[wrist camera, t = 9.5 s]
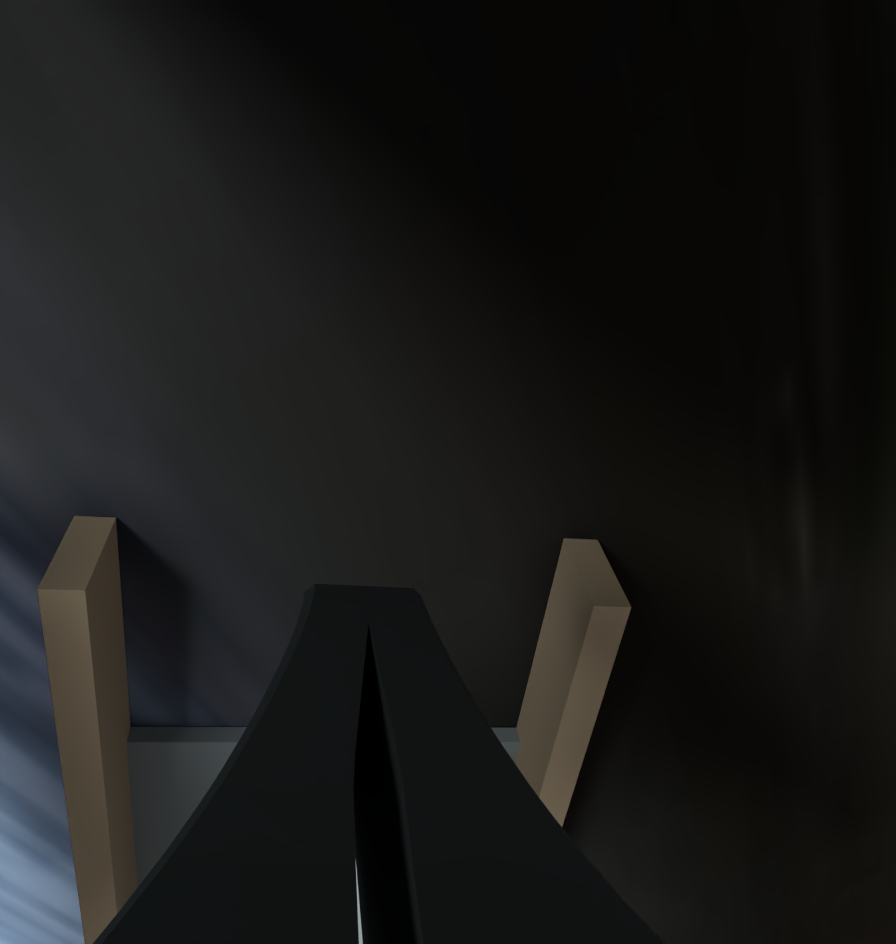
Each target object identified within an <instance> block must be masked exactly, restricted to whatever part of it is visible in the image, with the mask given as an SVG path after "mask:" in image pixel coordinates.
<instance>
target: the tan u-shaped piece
mask: <svg viewBox="0 0 896 944" xmlns="http://www.w3.org/2000/svg"><path fill="white" fill-rule="evenodd" d="M37 592H38V599H39V606H40V614H41V621H42V629H43V636H44V644H45V651H46V658H47V666H48V673H49V681H50V688H51V696H52V703H53V710H54V718H55V725H56V733H57V740H58V747H59V755H60V762H61V770H62V777H63V785H64V792H65V799H66V807H67V814H68V822H69V829H70V837H71V844H72V851H73V859H74V866H75V874H76V881H77V889H78V896H79V903H80V911H81V918H82V926H83V933H84V941H85V944H93V942H94V941H95V940H96V939H97V938H98V936H99V935H100V934H101V933H102V932H103V930H104V929H105V928H106V927H107V926H108V924H109V923H110V922H111V921H112V919H113V918H114V917H115V916H116V914H117V913H118V912H119V911H120V910H121V908H122V907H123V906H124V904H125V903H126V902H127V901H128V899H129V898H130V897H131V895H132V894H133V893H134V892H135V890H136V889H137V888H138V886H139V885H140V884H141V882H142V881H143V880H144V879H145V877H146V876H147V875H148V873H149V872H150V871H151V870H152V868H153V867H154V866H155V864H156V863H157V862H158V861H159V859H160V858H161V857H162V855H163V854H164V853H165V851H166V850H167V849H168V847H169V846H170V844H171V843H172V842H173V840H174V839H175V837H176V836H177V835H178V833H179V832H180V830H181V829H182V828H183V826H184V825H185V823H186V822H187V821H188V819H189V818H190V816H191V815H192V814H193V812H194V811H195V809H196V808H197V806H198V805H199V803H200V802H201V800H202V799H203V797H204V796H205V794H206V793H207V791H208V790H209V788H210V787H211V785H212V784H213V782H214V781H215V779H216V778H217V776H218V774H219V773H220V771H221V770H222V768H223V766H224V765H225V763H226V761H227V760H228V758H229V756H230V755H231V753H232V751H233V750H234V748H235V746H236V745H237V743H238V741H239V740H240V738H241V736H242V734H243V733H244V731H245V729H246V728H247V727H131V721H130V707H129V693H128V679H127V666H126V652H125V638H124V624H123V610H122V596H121V582H120V568H119V554H118V540H117V526H116V518H112V517H91V516H74V517H73V519H72V521H71V523H70V525H69V527H68V529H67V531H66V533H65V535H64V537H63V539H62V541H61V543H60V545H59V547H58V549H57V551H56V553H55V555H54V557H53V559H52V561H51V563H50V565H49V567H48V569H47V571H46V573H45V575H44V577H43V579H42V580H41V582H40V584H39V586H38V588H37ZM630 610H631V605H630V603H629V601H628V599H627V597H626V595H625V593H624V591H623V589H622V588H621V586H620V584H619V582H618V580H617V578H616V576H615V574H614V572H613V570H612V568H611V566H610V564H609V562H608V560H607V558H606V556H605V554H604V552H603V550H602V548H601V546H600V544H599V542H598V540H591V539H569V538H564V540H563V544H562V548H561V552H560V556H559V560H558V564H557V568H556V572H555V576H554V580H553V584H552V588H551V592H550V596H549V600H548V604H547V608H546V612H545V616H544V620H543V624H542V628H541V632H540V636H539V640H538V644H537V648H536V652H535V656H534V660H533V664H532V668H531V672H530V676H529V680H528V684H527V688H526V692H525V696H524V699H523V703H522V707H521V711H520V715H519V719H518V723H517V727H516V728H492V730H493V732H494V733H495V735H496V736H497V738H498V739H499V741H500V742H501V744H502V745H503V747H504V748H505V750H506V751H507V753H508V754H509V756H510V757H511V759H512V760H513V762H514V763H515V764H516V766H517V767H518V769H519V770H520V772H521V773H522V775H523V776H524V777H525V779H526V780H527V782H528V783H529V784H530V786H531V787H532V789H533V790H534V791H535V793H536V794H537V795H538V797H539V798H540V799H541V801H542V802H543V803H544V805H545V806H546V807H547V809H548V810H549V811H550V813H551V814H552V815H553V817H554V818H555V819H556V820H557V822H558V823H559V824H560V825H561V827H562V826H563V823H564V819H565V816H566V813H567V810H568V807H569V804H570V800H571V797H572V794H573V791H574V788H575V785H576V781H577V778H578V775H579V772H580V769H581V766H582V762H583V759H584V756H585V753H586V750H587V746H588V743H589V740H590V737H591V734H592V731H593V727H594V724H595V721H596V718H597V715H598V712H599V708H600V705H601V702H602V699H603V696H604V693H605V689H606V686H607V683H608V680H609V677H610V674H611V670H612V667H613V664H614V661H615V658H616V654H617V651H618V648H619V645H620V642H621V639H622V635H623V632H624V629H625V626H626V623H627V620H628V616H629V613H630Z"/></svg>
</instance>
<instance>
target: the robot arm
mask: <svg viewBox="0 0 896 944" xmlns="http://www.w3.org/2000/svg"><path fill="white" fill-rule="evenodd" d="M356 868H357V880H358V892H359V904H360V916H361V928H362V940H363V944H666V943H665V942H664V941H663V940H662V939H661V938H660V937H659V936H658V935H657V934H656V933H655V932H654V931H653V930H652V929H651V928H650V927H649V926H648V925H647V924H646V923H645V922H644V921H643V920H642V919H641V918H640V916H639V915H638V914H637V913H636V912H635V911H634V910H633V909H632V908H631V907H630V906H629V905H628V904H627V903H626V902H625V901H624V900H623V899H622V898H621V896H620V895H619V894H618V893H617V892H616V891H615V890H614V889H613V887H612V886H611V885H610V884H609V883H608V882H607V880H606V879H605V878H604V877H603V876H602V875H601V873H600V872H599V871H598V870H597V869H596V868H595V867H594V865H593V864H592V863H591V862H590V861H589V860H588V858H587V857H586V856H585V855H584V854H583V853H582V851H581V850H580V849H579V848H578V846H577V845H576V844H575V843H574V841H573V840H572V839H571V838H570V837H569V835H568V834H567V833H566V832H565V830H564V829H563V828H562V827H561V825H560V824H559V823H558V822H557V820H556V819H555V818H554V817H553V815H552V814H551V813H550V811H549V810H548V809H547V807H546V806H545V805H544V803H543V802H542V801H541V799H540V798H539V797H538V795H537V794H536V793H535V791H534V790H533V789H532V787H531V786H530V784H529V783H528V782H527V780H526V779H525V777H524V776H523V775H522V773H521V772H520V770H519V769H518V767H517V766H516V764H515V763H514V762H513V760H512V759H511V757H510V756H509V754H508V753H507V751H506V750H505V748H504V747H503V745H502V744H501V742H500V741H499V739H498V738H497V736H496V735H495V733H494V732H493V730H492V728H491V727H490V725H489V724H488V722H487V721H486V719H485V717H484V716H483V714H482V712H481V711H480V709H479V707H478V706H477V704H476V702H475V701H474V699H473V697H472V696H471V694H470V692H469V691H468V689H467V687H466V686H465V684H464V682H463V680H462V679H461V677H460V675H459V673H458V672H457V670H456V668H455V666H454V664H453V662H452V661H451V659H450V657H449V655H448V653H447V651H446V649H445V647H444V645H443V643H442V641H441V639H440V637H439V635H438V633H437V631H436V629H435V627H434V625H433V623H432V621H431V619H430V616H429V614H428V612H427V610H426V607H425V605H424V602H423V600H422V597H421V596H420V595H419V594H418V592H417V591H416V590H415V589H414V588H394V587H373V586H351V585H329V584H314V585H313V586H312V587H310V588H309V589H307V590H306V591H305V595H304V601H303V606H302V609H301V612H300V616H299V619H298V622H297V625H296V628H295V630H294V633H293V635H292V638H291V640H290V642H289V645H288V647H287V649H286V652H285V654H284V656H283V659H282V661H281V663H280V665H279V667H278V669H277V671H276V673H275V675H274V677H273V679H272V681H271V683H270V685H269V687H268V689H267V691H266V693H265V695H264V697H263V699H262V701H261V703H260V705H259V707H258V709H257V710H256V712H255V714H254V716H253V718H252V719H251V721H250V723H249V724H248V726H247V728H246V729H245V731H244V733H243V734H242V736H241V738H240V740H239V741H238V743H237V745H236V746H235V748H234V750H233V751H232V753H231V755H230V756H229V758H228V760H227V761H226V763H225V765H224V766H223V768H222V770H221V771H220V773H219V774H218V776H217V778H216V779H215V781H214V782H213V784H212V785H211V787H210V788H209V790H208V791H207V793H206V794H205V796H204V797H203V799H202V800H201V802H200V803H199V805H198V806H197V808H196V809H195V811H194V812H193V814H192V815H191V816H190V818H189V819H188V821H187V822H186V823H185V825H184V826H183V828H182V829H181V830H180V832H179V833H178V835H177V836H176V837H175V839H174V840H173V842H172V843H171V844H170V846H169V847H168V849H167V850H166V851H165V853H164V854H163V855H162V857H161V858H160V859H159V861H158V862H157V863H156V864H155V866H154V867H153V868H152V870H151V871H150V872H149V873H148V875H147V876H146V877H145V879H144V880H143V881H142V882H141V884H140V885H139V886H138V888H137V889H136V890H135V892H134V893H133V894H132V895H131V897H130V898H129V899H128V901H127V902H126V903H125V904H124V906H123V907H122V908H121V910H120V911H119V912H118V913H117V914H116V916H115V917H114V918H113V919H112V921H111V922H110V923H109V924H108V926H107V927H106V928H105V929H104V930H103V932H102V933H101V934H100V935H99V936H98V938H97V939H96V940H95V941H94V942H93V944H359V933H358V908H357V883H356Z"/></svg>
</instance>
